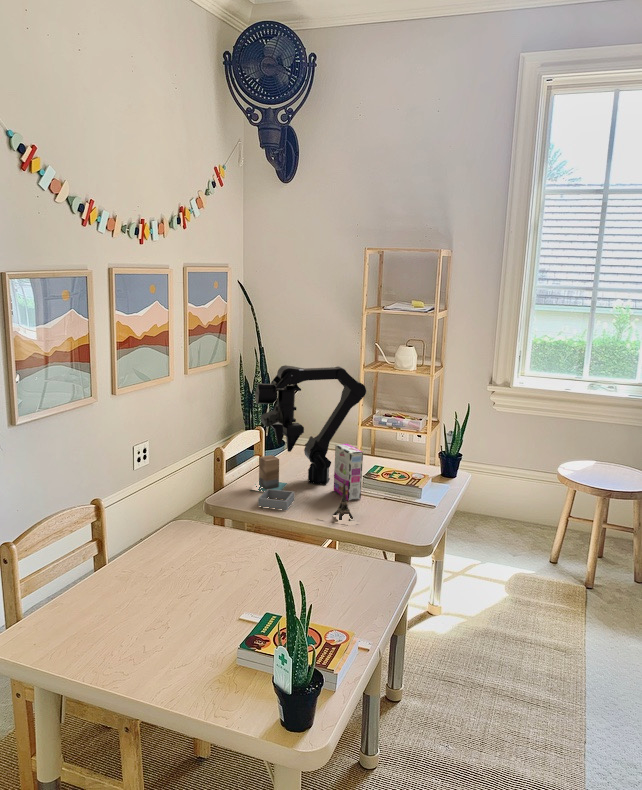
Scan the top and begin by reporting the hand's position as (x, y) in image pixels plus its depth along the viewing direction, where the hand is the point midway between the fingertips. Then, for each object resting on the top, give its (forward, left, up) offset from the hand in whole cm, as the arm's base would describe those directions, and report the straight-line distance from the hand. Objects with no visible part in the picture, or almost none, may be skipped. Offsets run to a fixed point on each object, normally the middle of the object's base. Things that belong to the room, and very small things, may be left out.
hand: (284, 447), depth 225 cm
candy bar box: (-23, +3, -13) cm, 27 cm away
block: (+4, +4, -13) cm, 14 cm away
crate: (-3, +18, -13) cm, 23 cm away
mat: (+4, +4, -13) cm, 14 cm away
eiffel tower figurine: (-25, +23, -14) cm, 37 cm away
